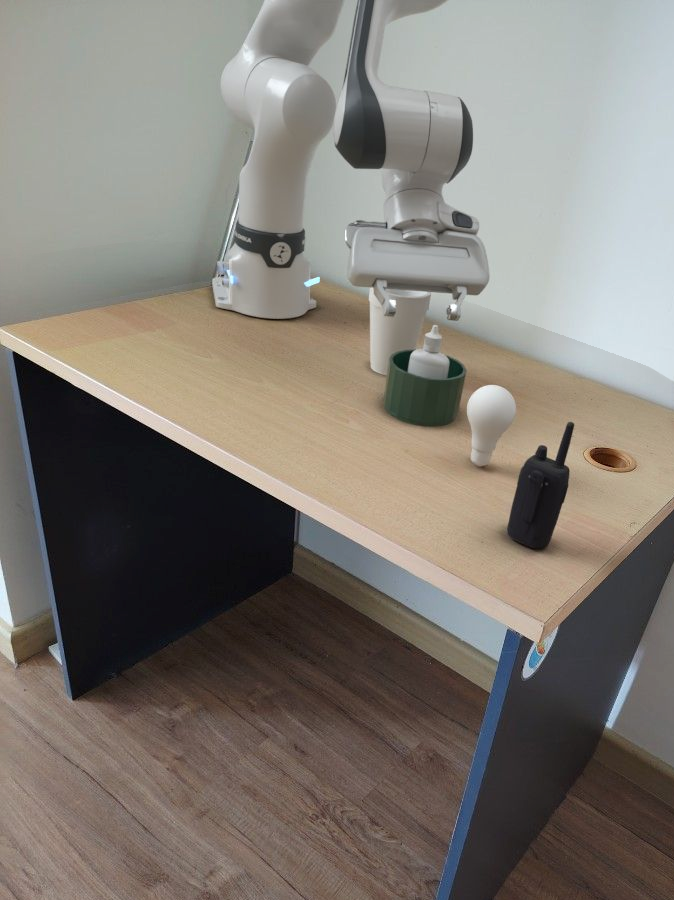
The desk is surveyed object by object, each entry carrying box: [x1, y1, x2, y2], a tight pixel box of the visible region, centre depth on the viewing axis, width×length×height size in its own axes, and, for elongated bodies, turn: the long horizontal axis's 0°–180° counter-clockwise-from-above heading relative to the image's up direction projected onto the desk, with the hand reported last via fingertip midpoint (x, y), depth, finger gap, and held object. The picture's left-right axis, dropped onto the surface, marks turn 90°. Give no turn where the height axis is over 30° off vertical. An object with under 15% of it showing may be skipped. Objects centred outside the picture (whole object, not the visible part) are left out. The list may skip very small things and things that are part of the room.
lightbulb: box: [466, 384, 517, 468], centre depth 96 cm, size 6×6×11 cm
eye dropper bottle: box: [408, 324, 449, 379], centre depth 108 cm, size 4×6×12 cm
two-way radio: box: [506, 421, 575, 550], centre depth 81 cm, size 6×4×15 cm
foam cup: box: [368, 287, 432, 376], centre depth 119 cm, size 10×9×13 cm
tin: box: [382, 350, 468, 427], centre depth 109 cm, size 11×11×7 cm
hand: (422, 316), depth 106 cm, fingers open, 8 cm apart
